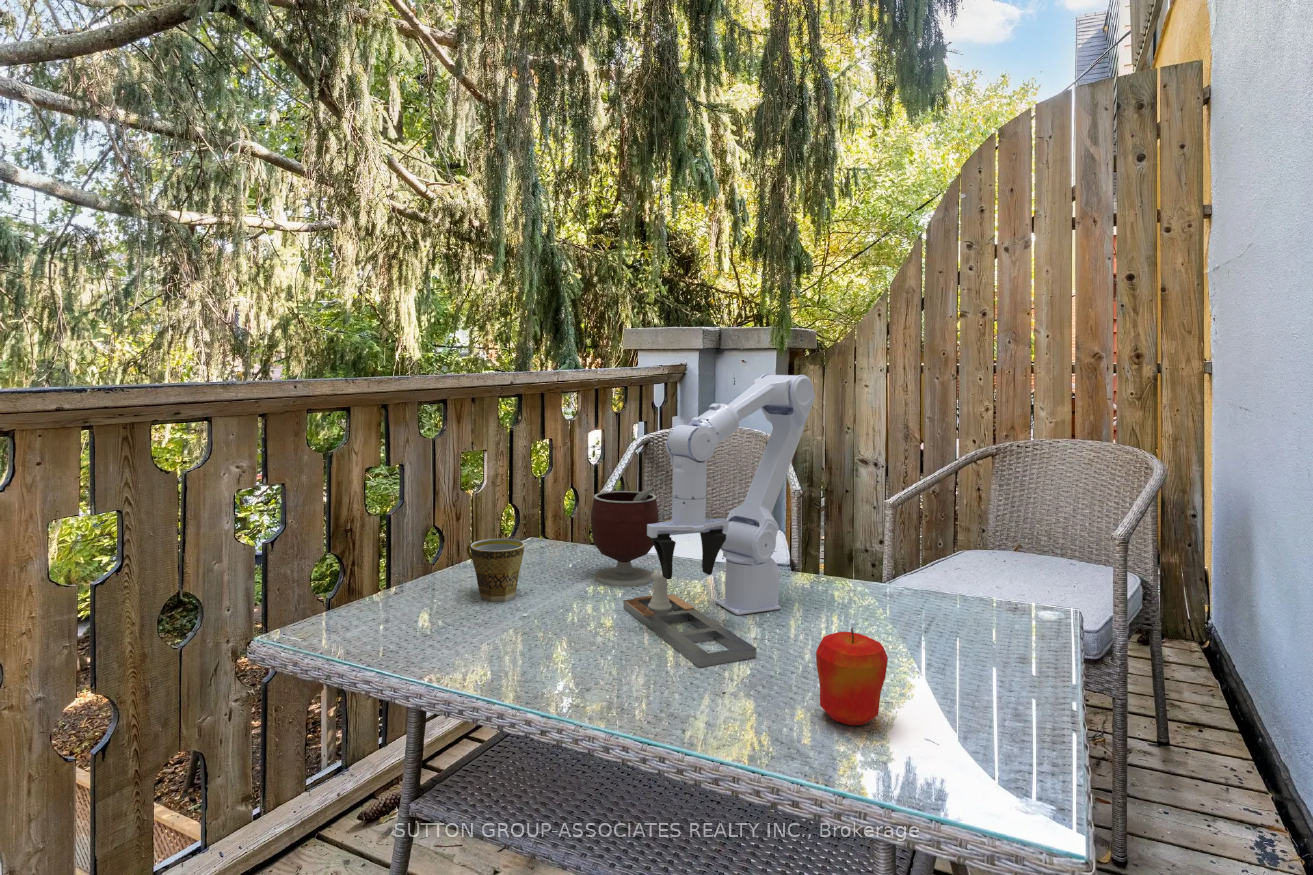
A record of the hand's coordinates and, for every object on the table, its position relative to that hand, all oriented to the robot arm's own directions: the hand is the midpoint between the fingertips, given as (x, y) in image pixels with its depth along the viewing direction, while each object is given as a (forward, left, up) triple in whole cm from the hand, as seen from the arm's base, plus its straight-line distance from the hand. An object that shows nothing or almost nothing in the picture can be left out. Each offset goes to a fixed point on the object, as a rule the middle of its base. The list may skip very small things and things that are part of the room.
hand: (687, 575), depth 128 cm
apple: (-3, +39, -9) cm, 40 cm away
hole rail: (+2, +3, -8) cm, 9 cm away
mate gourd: (-1, -29, -9) cm, 30 cm away
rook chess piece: (+2, -6, -9) cm, 11 cm away
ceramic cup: (+27, -28, -9) cm, 40 cm away
